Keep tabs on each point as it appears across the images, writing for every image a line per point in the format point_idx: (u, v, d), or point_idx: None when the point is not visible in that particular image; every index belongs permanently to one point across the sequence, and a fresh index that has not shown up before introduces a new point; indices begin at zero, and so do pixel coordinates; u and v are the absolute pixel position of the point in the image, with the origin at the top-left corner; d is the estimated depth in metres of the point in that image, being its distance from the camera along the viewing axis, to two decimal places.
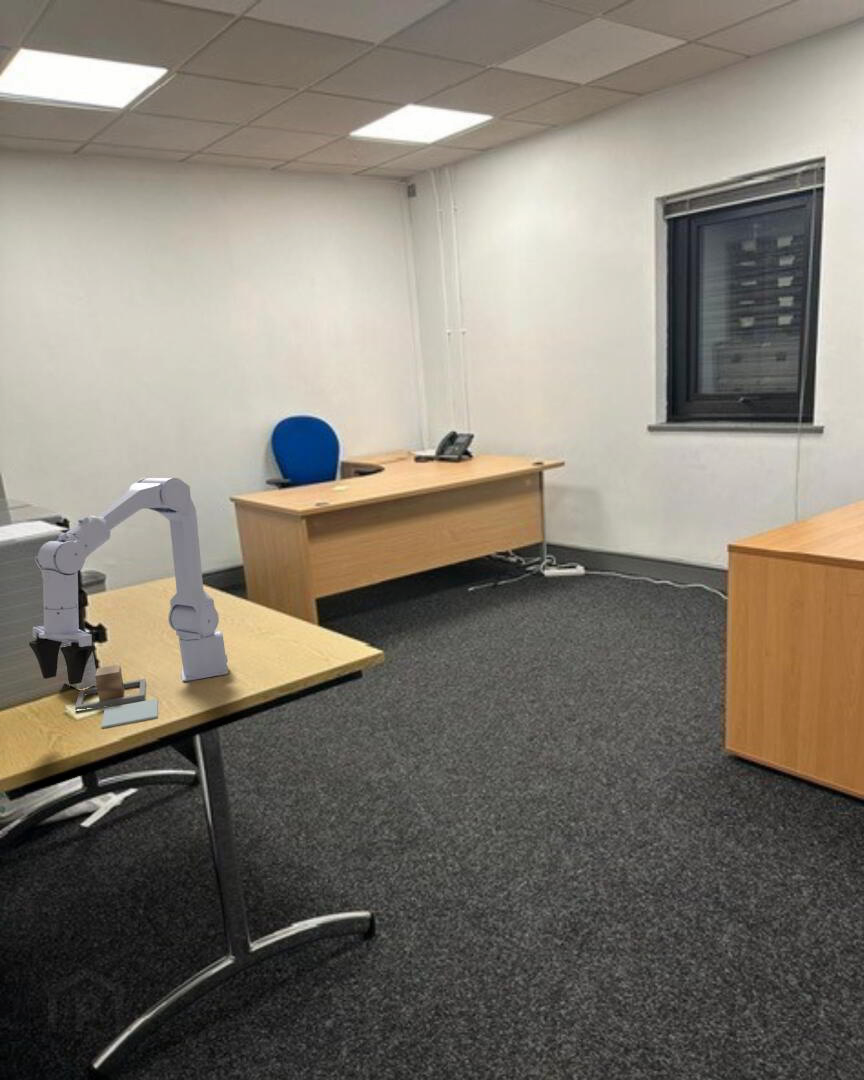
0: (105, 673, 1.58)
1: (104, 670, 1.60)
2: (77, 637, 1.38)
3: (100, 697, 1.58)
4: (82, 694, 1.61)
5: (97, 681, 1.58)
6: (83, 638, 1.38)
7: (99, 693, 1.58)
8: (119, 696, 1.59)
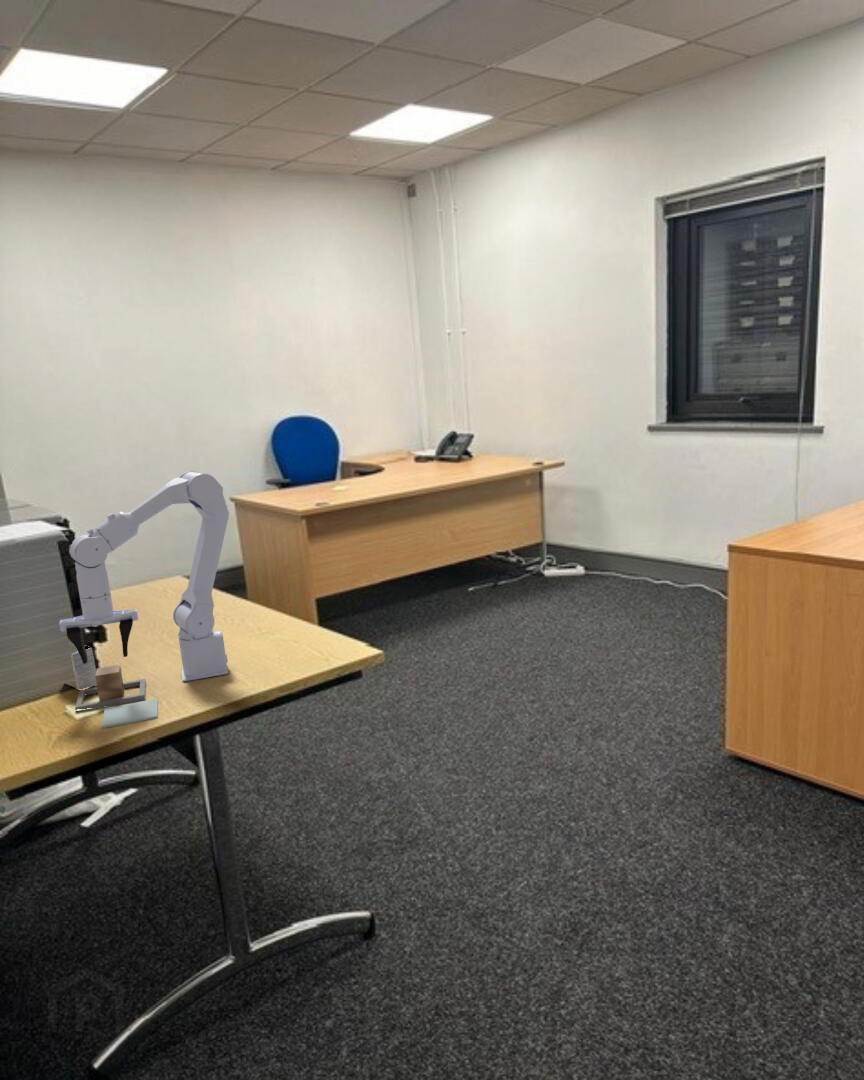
0: (105, 673, 1.58)
1: (104, 670, 1.60)
2: (131, 613, 1.58)
3: (100, 697, 1.58)
4: (82, 694, 1.61)
5: (97, 681, 1.58)
6: (136, 613, 1.59)
7: (99, 693, 1.58)
8: (119, 696, 1.59)
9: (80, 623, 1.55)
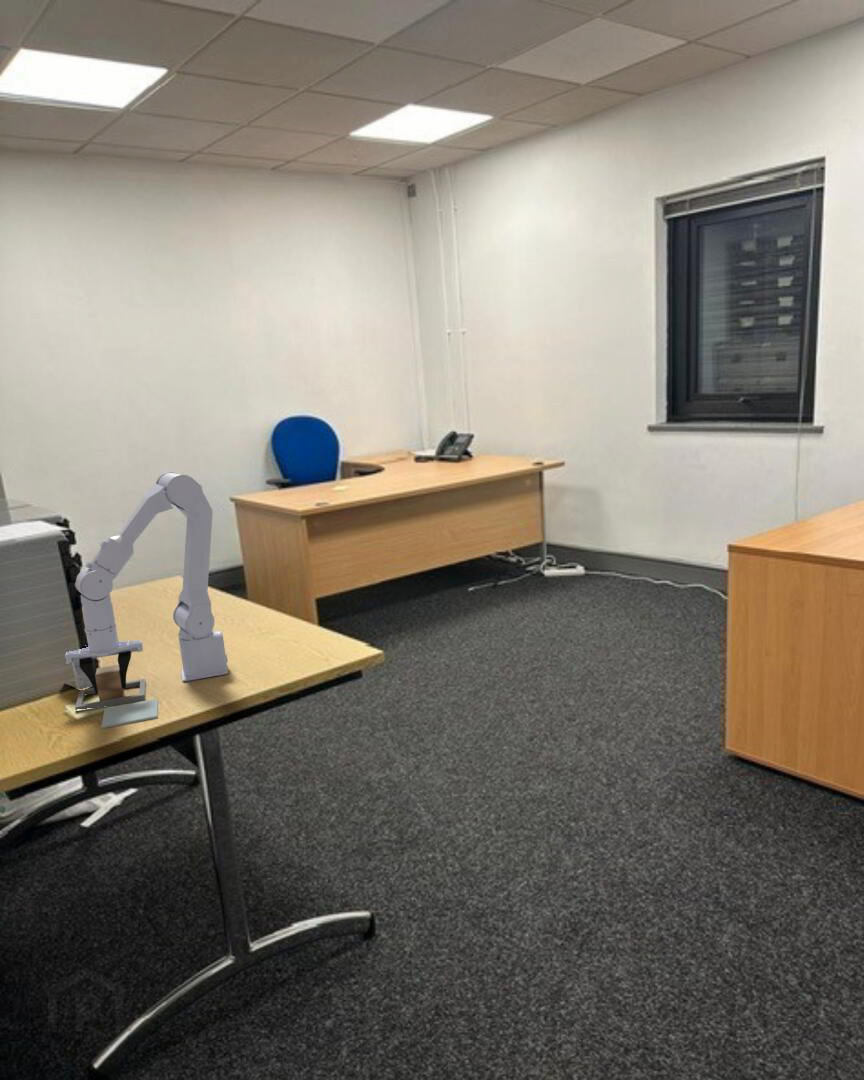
0: (105, 673, 1.58)
1: (104, 670, 1.60)
2: (135, 645, 1.60)
3: (100, 697, 1.58)
4: (82, 694, 1.61)
5: (97, 681, 1.58)
6: (141, 644, 1.61)
7: (99, 693, 1.58)
8: (119, 696, 1.59)
9: (86, 655, 1.56)
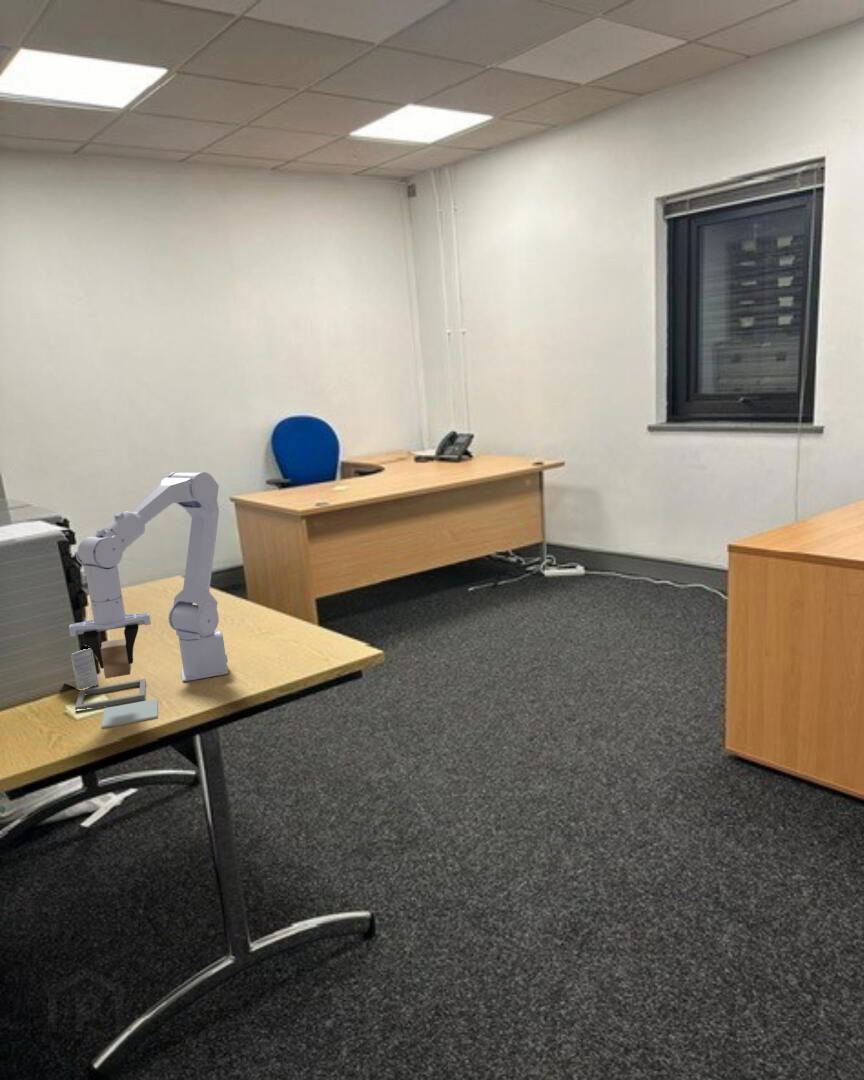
0: (111, 646, 1.51)
1: (110, 644, 1.52)
2: (143, 617, 1.52)
3: (105, 672, 1.51)
4: (82, 694, 1.61)
5: (102, 655, 1.50)
6: (149, 617, 1.53)
7: (104, 667, 1.50)
8: (125, 671, 1.52)
9: (90, 627, 1.48)
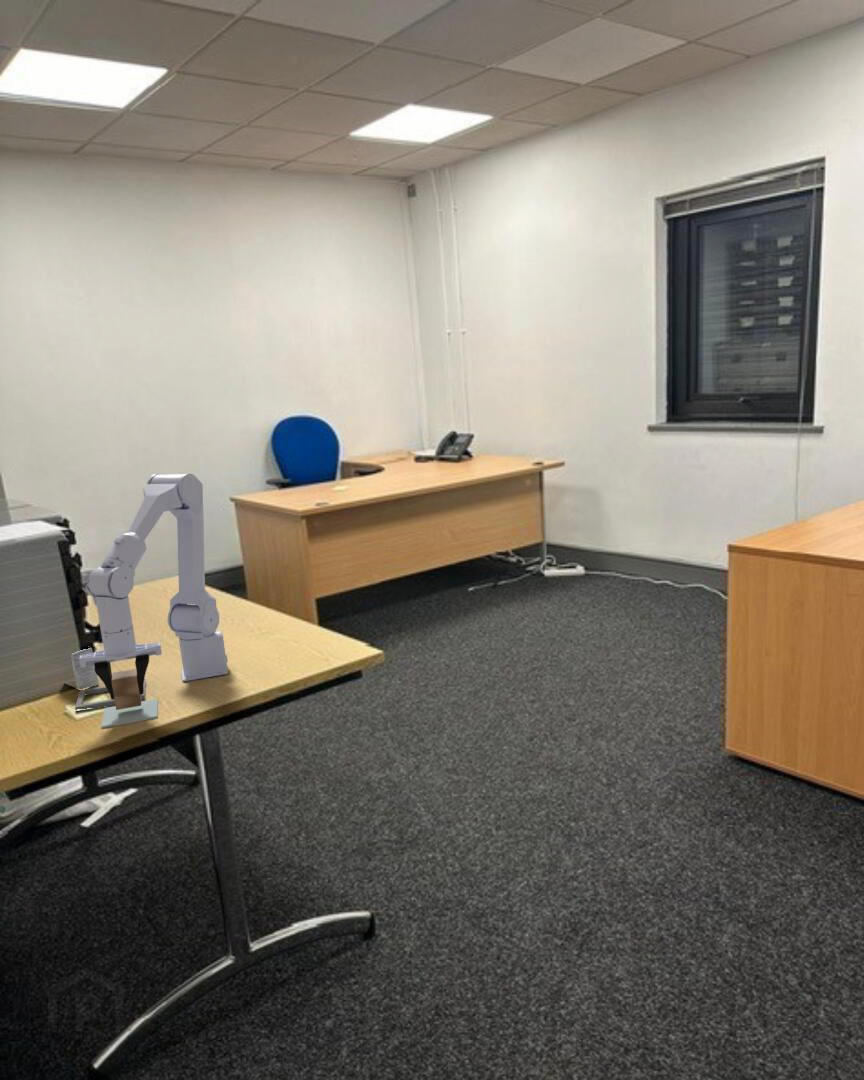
0: (122, 678, 1.49)
1: (120, 674, 1.51)
2: (154, 648, 1.50)
3: (116, 703, 1.49)
4: (82, 694, 1.61)
5: (113, 686, 1.48)
6: (160, 647, 1.51)
7: (115, 699, 1.49)
8: (136, 702, 1.50)
9: (101, 659, 1.47)
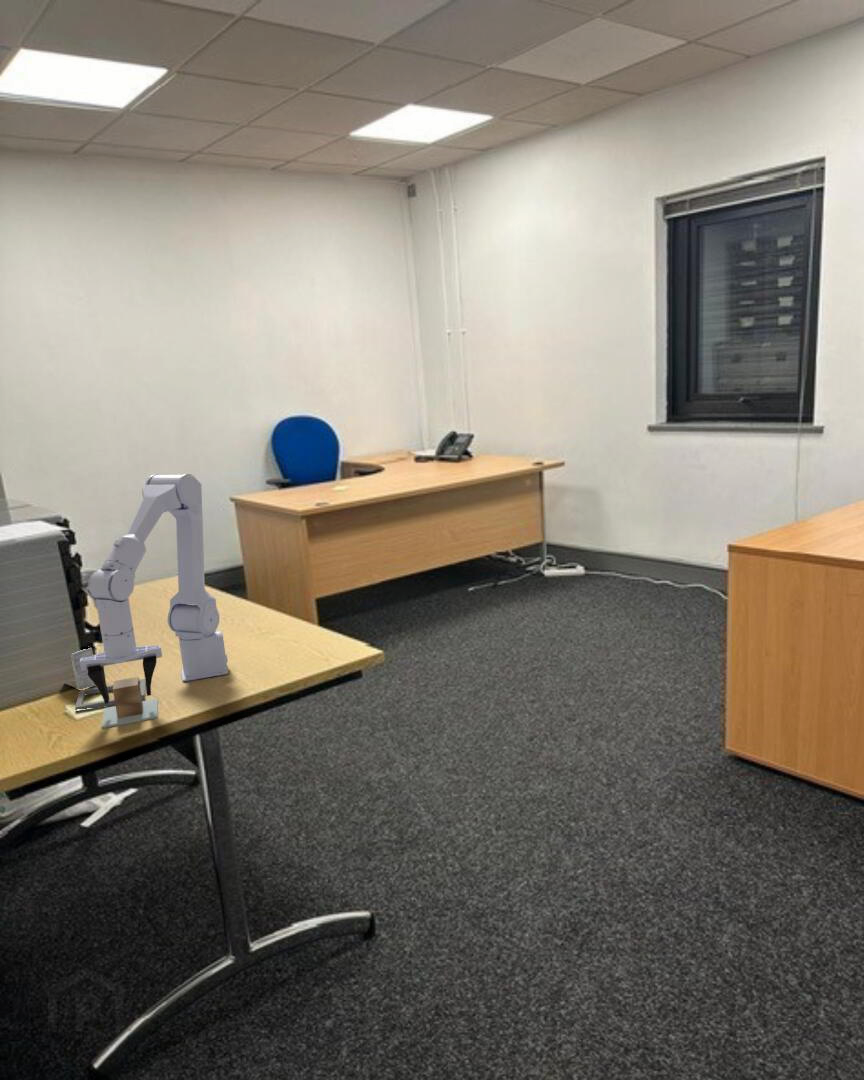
0: (123, 686, 1.49)
1: (122, 683, 1.51)
2: (154, 650, 1.50)
3: (118, 712, 1.49)
4: (82, 694, 1.61)
5: (115, 695, 1.49)
6: (160, 649, 1.51)
7: (117, 707, 1.49)
8: (138, 710, 1.50)
9: (102, 661, 1.47)
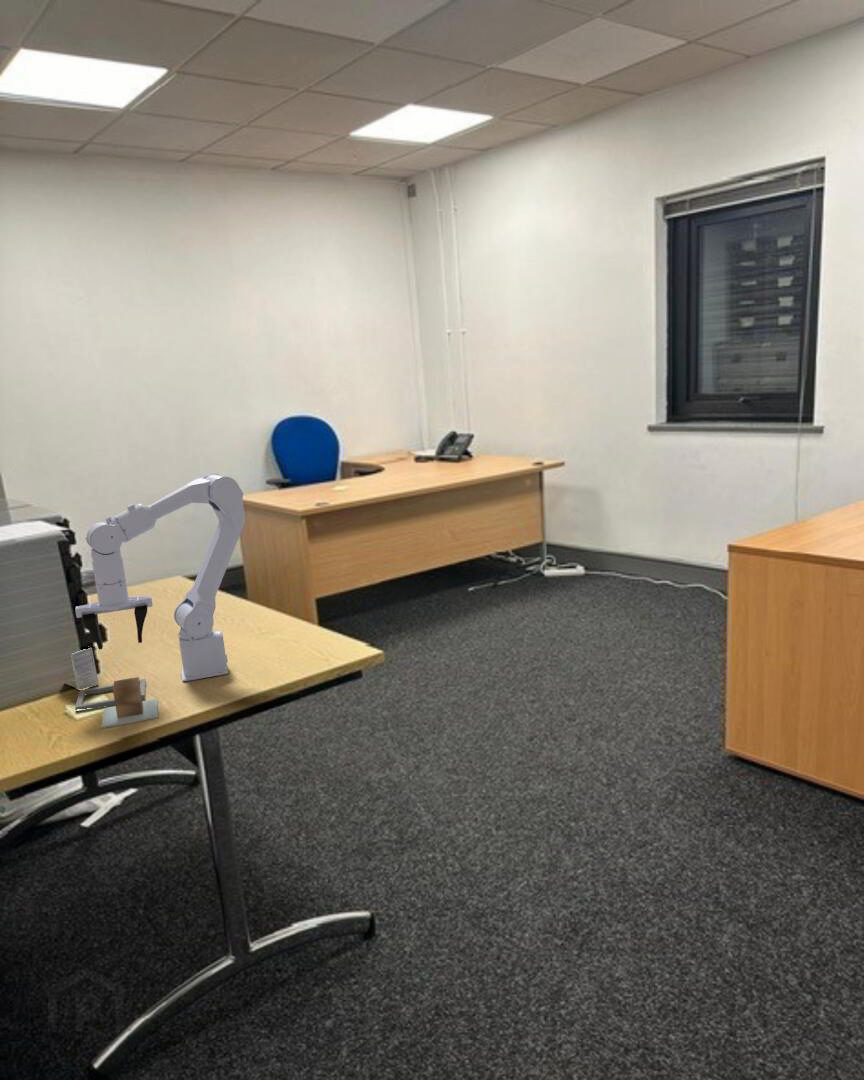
0: (123, 686, 1.49)
1: (122, 683, 1.51)
2: (145, 600, 1.61)
3: (118, 712, 1.49)
4: (82, 694, 1.61)
5: (115, 695, 1.49)
6: None
7: (117, 707, 1.49)
8: (138, 710, 1.50)
9: (96, 609, 1.57)
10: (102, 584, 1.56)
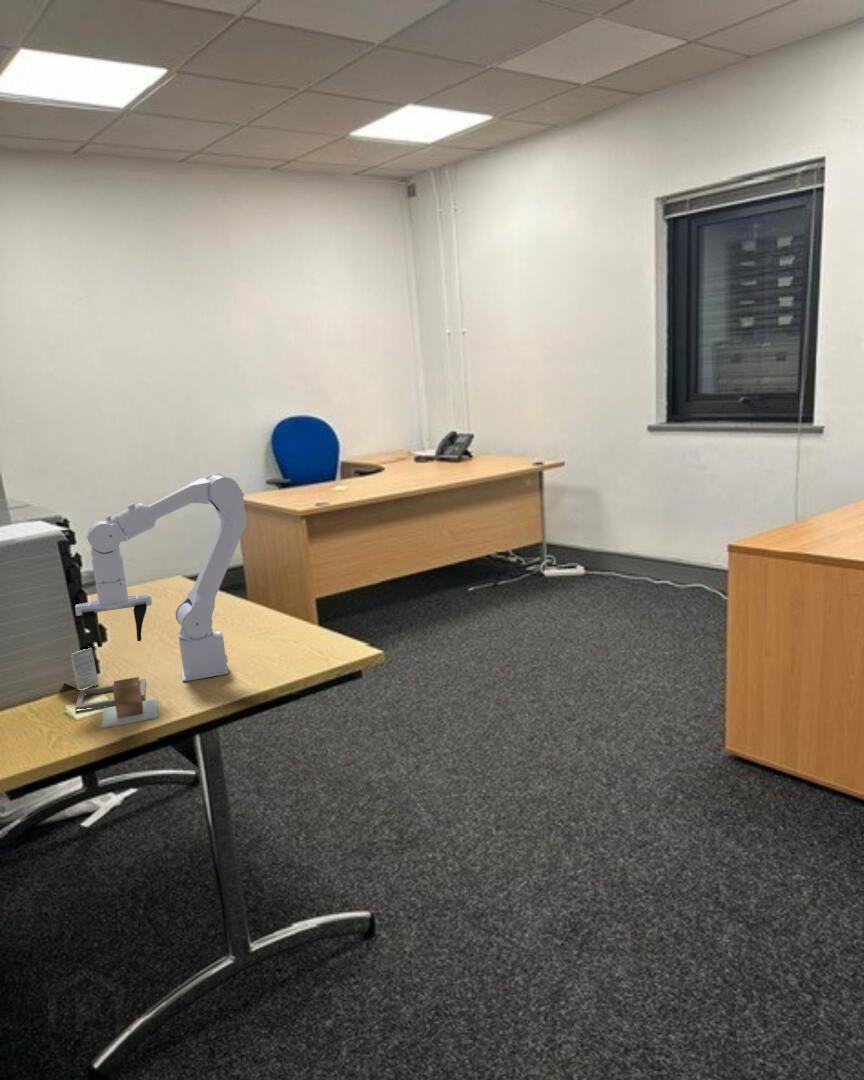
0: (123, 686, 1.49)
1: (122, 683, 1.51)
2: (145, 598, 1.62)
3: (118, 712, 1.49)
4: (82, 694, 1.61)
5: (115, 695, 1.49)
6: (150, 598, 1.62)
7: (117, 707, 1.49)
8: (138, 710, 1.50)
9: (95, 607, 1.58)
10: (102, 582, 1.57)
